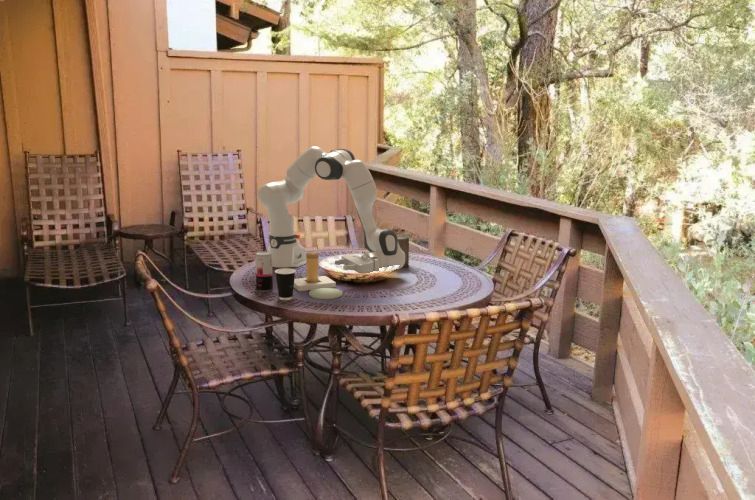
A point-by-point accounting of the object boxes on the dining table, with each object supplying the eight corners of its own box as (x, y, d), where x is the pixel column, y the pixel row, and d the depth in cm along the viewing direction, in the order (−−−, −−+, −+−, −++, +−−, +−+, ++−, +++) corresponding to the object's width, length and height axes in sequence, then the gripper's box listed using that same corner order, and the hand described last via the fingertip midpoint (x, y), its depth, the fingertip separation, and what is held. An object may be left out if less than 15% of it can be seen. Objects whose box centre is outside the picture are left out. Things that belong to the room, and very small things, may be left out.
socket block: (318, 276, 292) (318, 271, 292) (335, 287, 275) (335, 282, 274) (283, 279, 285) (283, 274, 285) (298, 291, 268) (298, 286, 267)
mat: (322, 288, 272) (322, 286, 272) (348, 293, 265) (348, 291, 265) (302, 295, 261) (302, 293, 261) (329, 301, 255) (329, 298, 254)
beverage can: (260, 292, 265) (259, 255, 262) (253, 289, 270) (252, 252, 267) (275, 290, 268) (274, 253, 265) (268, 286, 274) (267, 250, 271)
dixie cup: (297, 300, 255) (297, 272, 252) (276, 302, 253) (276, 273, 250) (294, 295, 262) (294, 267, 260) (274, 296, 260) (273, 268, 258)
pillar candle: (410, 264, 318) (411, 232, 315) (406, 268, 308) (406, 236, 305) (390, 262, 320) (391, 231, 317) (385, 267, 311) (385, 235, 308)
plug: (316, 283, 280) (315, 252, 277) (320, 286, 275) (320, 254, 272) (304, 284, 278) (304, 253, 275) (308, 287, 273) (308, 255, 270)
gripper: (359, 250, 294) (330, 252, 288) (379, 260, 276) (349, 263, 270) (359, 264, 296) (330, 267, 290) (379, 275, 278) (348, 278, 272)
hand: (339, 265), depth 280 cm, fingers open, 8 cm apart
